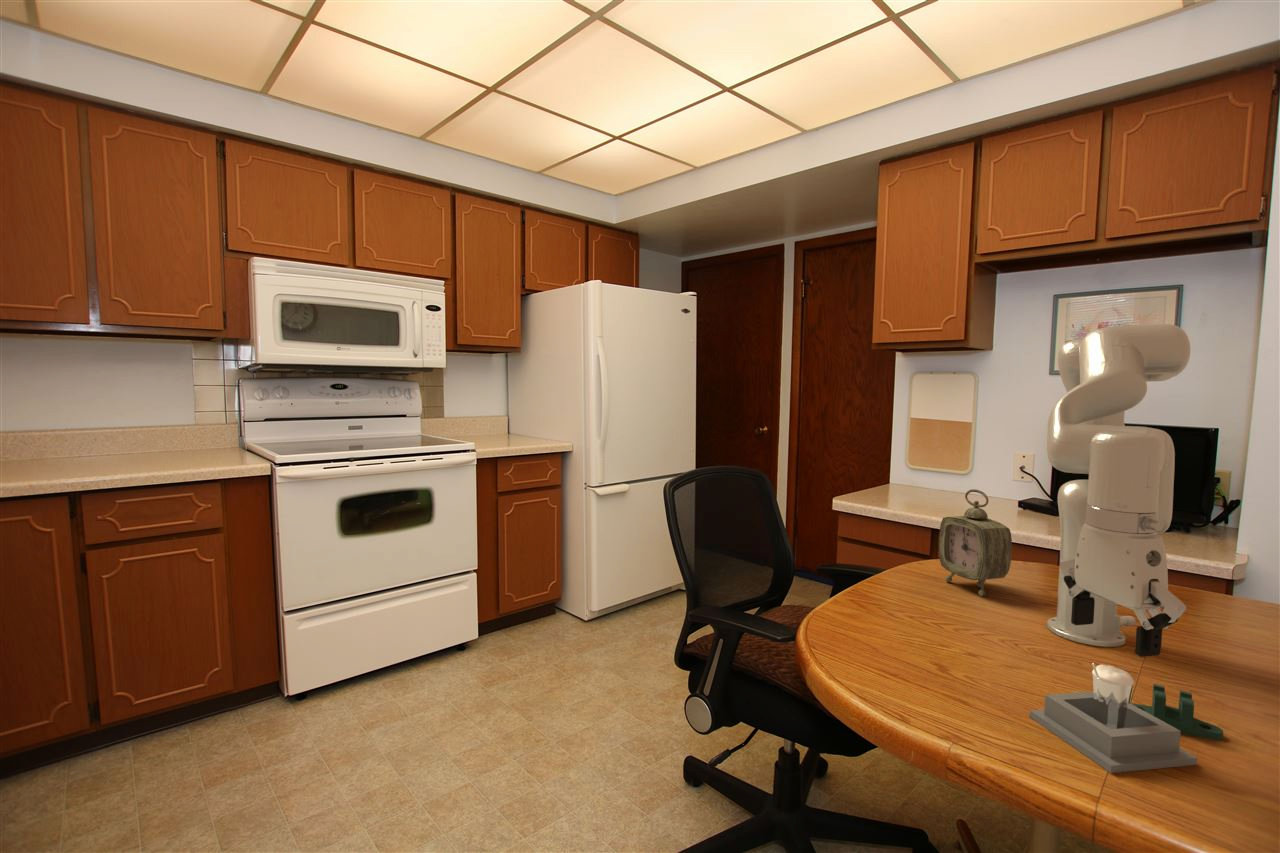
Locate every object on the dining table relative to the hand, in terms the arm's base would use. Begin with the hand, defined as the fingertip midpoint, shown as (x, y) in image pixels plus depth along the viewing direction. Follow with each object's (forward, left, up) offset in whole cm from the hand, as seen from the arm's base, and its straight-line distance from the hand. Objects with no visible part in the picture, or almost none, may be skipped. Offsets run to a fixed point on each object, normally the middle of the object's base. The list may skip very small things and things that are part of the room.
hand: (1112, 638), depth 82 cm
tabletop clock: (-25, -59, -15) cm, 66 cm away
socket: (+1, +1, -14) cm, 14 cm away
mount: (-13, -2, -15) cm, 20 cm away
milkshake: (0, 0, -14) cm, 14 cm away
